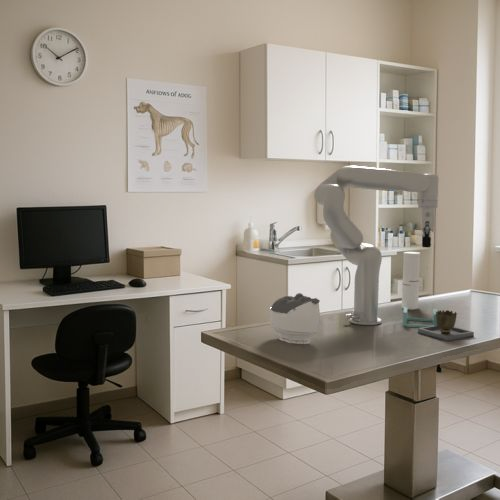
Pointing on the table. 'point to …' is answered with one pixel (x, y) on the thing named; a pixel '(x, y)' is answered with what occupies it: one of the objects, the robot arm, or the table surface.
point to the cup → (445, 320)
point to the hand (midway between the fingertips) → (426, 245)
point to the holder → (418, 319)
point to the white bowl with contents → (295, 318)
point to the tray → (453, 335)
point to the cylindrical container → (410, 280)
